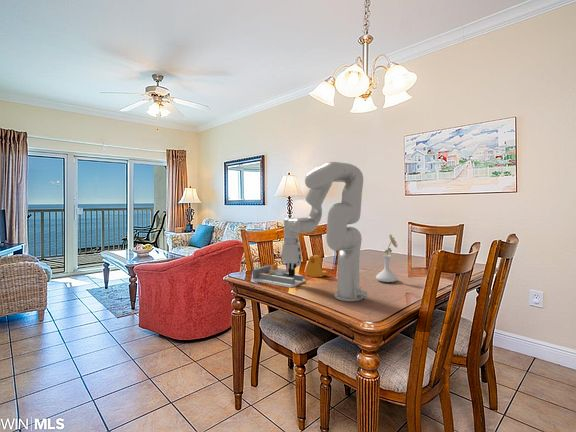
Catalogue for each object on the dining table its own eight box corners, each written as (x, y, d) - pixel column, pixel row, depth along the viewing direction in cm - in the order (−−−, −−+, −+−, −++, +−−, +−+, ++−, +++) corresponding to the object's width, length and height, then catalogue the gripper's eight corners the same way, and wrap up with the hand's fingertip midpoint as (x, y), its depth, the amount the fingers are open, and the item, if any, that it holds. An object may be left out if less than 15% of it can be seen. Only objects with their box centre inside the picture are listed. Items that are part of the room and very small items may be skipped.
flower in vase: (390, 285, 159) (390, 236, 158) (371, 280, 168) (371, 234, 167) (403, 280, 167) (404, 234, 166) (385, 276, 176) (385, 232, 175)
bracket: (327, 275, 180) (327, 255, 180) (320, 278, 175) (320, 257, 174) (312, 273, 187) (312, 253, 187) (305, 275, 182) (305, 255, 181)
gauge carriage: (291, 277, 171) (290, 264, 171) (279, 281, 162) (279, 267, 162) (279, 275, 176) (279, 262, 175) (267, 279, 167) (266, 266, 166)
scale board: (305, 281, 168) (305, 270, 167) (290, 287, 156) (290, 275, 156) (268, 275, 182) (268, 265, 182) (252, 280, 170) (252, 269, 170)
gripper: (307, 241, 162) (307, 276, 163) (283, 239, 170) (284, 273, 171) (299, 243, 156) (299, 279, 157) (275, 241, 164) (276, 275, 165)
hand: (291, 276), depth 164 cm, fingers closed
